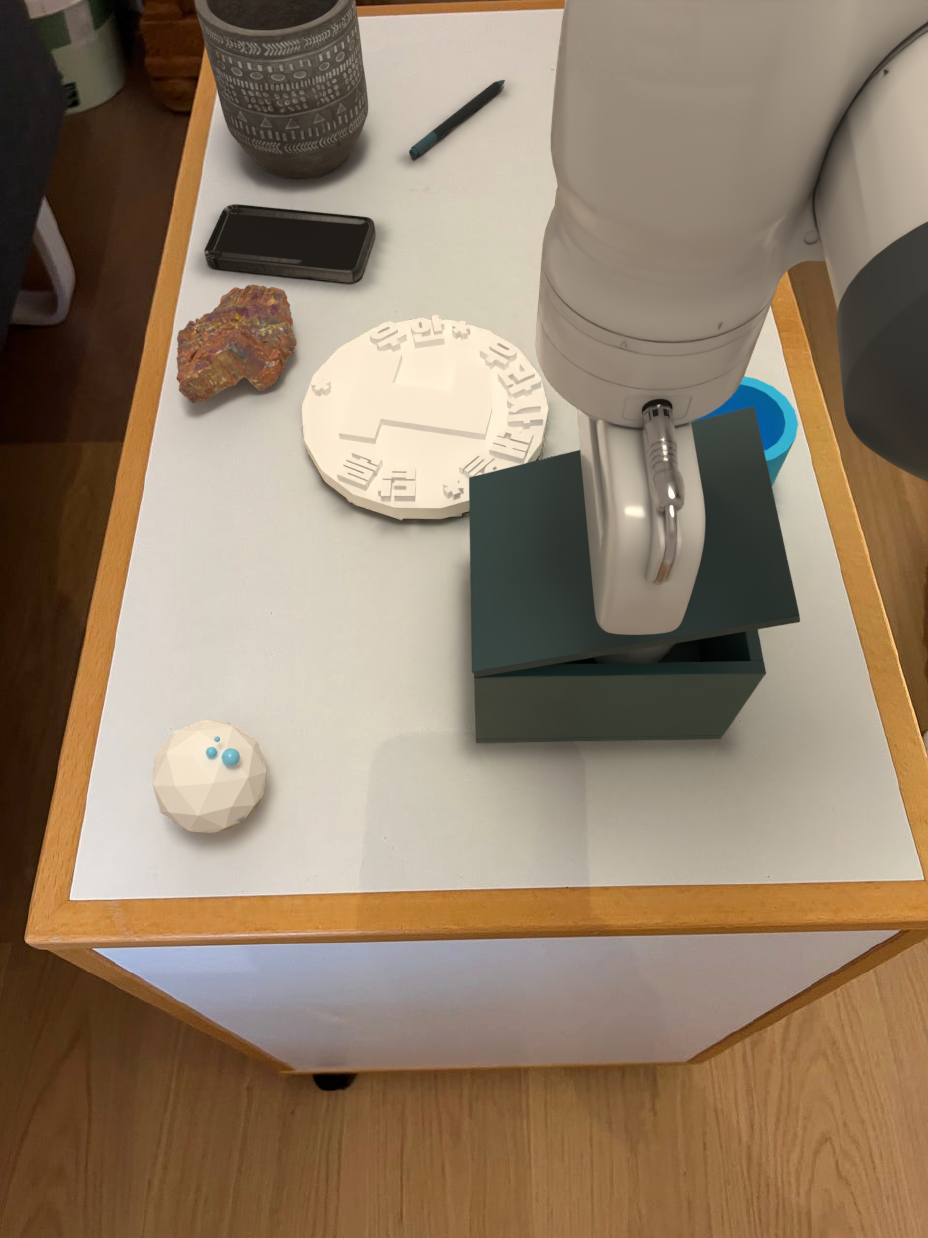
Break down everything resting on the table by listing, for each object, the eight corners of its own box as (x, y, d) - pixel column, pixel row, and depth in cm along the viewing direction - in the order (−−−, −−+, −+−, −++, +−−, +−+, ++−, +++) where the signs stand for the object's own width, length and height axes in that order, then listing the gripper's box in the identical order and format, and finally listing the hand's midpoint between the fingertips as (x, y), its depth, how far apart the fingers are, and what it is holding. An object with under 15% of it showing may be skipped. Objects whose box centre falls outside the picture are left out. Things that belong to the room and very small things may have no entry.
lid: (755, 414, 50) (754, 405, 49) (800, 622, 44) (799, 615, 43) (473, 484, 56) (468, 477, 55) (476, 677, 49) (471, 672, 49)
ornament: (188, 863, 56) (145, 831, 49) (163, 764, 59) (118, 721, 52) (289, 822, 57) (262, 785, 50) (259, 727, 60) (229, 680, 53)
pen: (508, 87, 94) (508, 76, 93) (416, 160, 88) (415, 149, 87) (500, 84, 94) (500, 73, 93) (408, 157, 89) (407, 145, 88)
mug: (765, 536, 66) (799, 470, 59) (657, 524, 67) (678, 457, 60) (763, 416, 72) (794, 342, 65) (664, 406, 73) (684, 331, 65)
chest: (694, 567, 65) (729, 479, 56) (720, 739, 59) (766, 673, 49) (473, 571, 65) (470, 484, 56) (475, 743, 59) (473, 678, 49)
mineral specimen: (285, 410, 71) (223, 356, 66) (220, 437, 75) (157, 388, 70) (311, 304, 76) (256, 247, 72) (249, 335, 80) (193, 282, 76)
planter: (212, 179, 88) (164, 20, 75) (270, 98, 94) (235, -62, 81) (342, 206, 85) (316, 46, 72) (393, 121, 92) (377, -40, 78)
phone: (225, 202, 84) (376, 217, 83) (229, 213, 85) (378, 227, 84) (200, 258, 80) (357, 274, 79) (204, 268, 81) (359, 284, 80)
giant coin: (394, 308, 79) (391, 282, 76) (588, 393, 73) (591, 368, 71) (258, 460, 71) (249, 436, 68) (463, 566, 66) (462, 545, 63)
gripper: (770, 531, 30) (687, 690, 42) (692, 157, 40) (642, 375, 52) (588, 534, 30) (557, 692, 42) (554, 160, 40) (536, 377, 52)
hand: (603, 515), depth 47 cm, fingers open, 8 cm apart
